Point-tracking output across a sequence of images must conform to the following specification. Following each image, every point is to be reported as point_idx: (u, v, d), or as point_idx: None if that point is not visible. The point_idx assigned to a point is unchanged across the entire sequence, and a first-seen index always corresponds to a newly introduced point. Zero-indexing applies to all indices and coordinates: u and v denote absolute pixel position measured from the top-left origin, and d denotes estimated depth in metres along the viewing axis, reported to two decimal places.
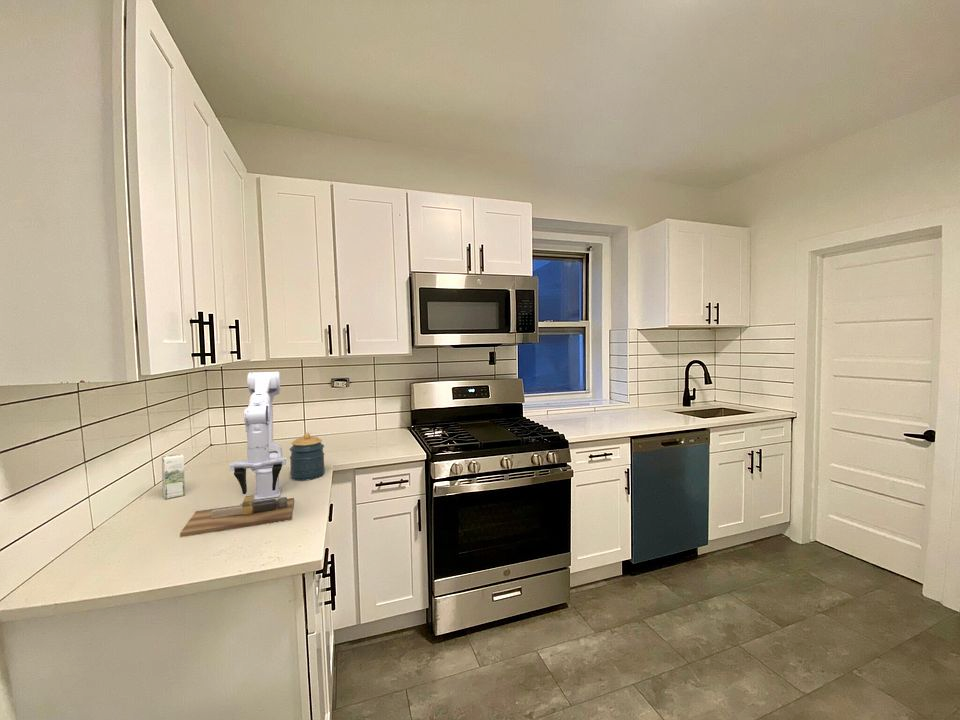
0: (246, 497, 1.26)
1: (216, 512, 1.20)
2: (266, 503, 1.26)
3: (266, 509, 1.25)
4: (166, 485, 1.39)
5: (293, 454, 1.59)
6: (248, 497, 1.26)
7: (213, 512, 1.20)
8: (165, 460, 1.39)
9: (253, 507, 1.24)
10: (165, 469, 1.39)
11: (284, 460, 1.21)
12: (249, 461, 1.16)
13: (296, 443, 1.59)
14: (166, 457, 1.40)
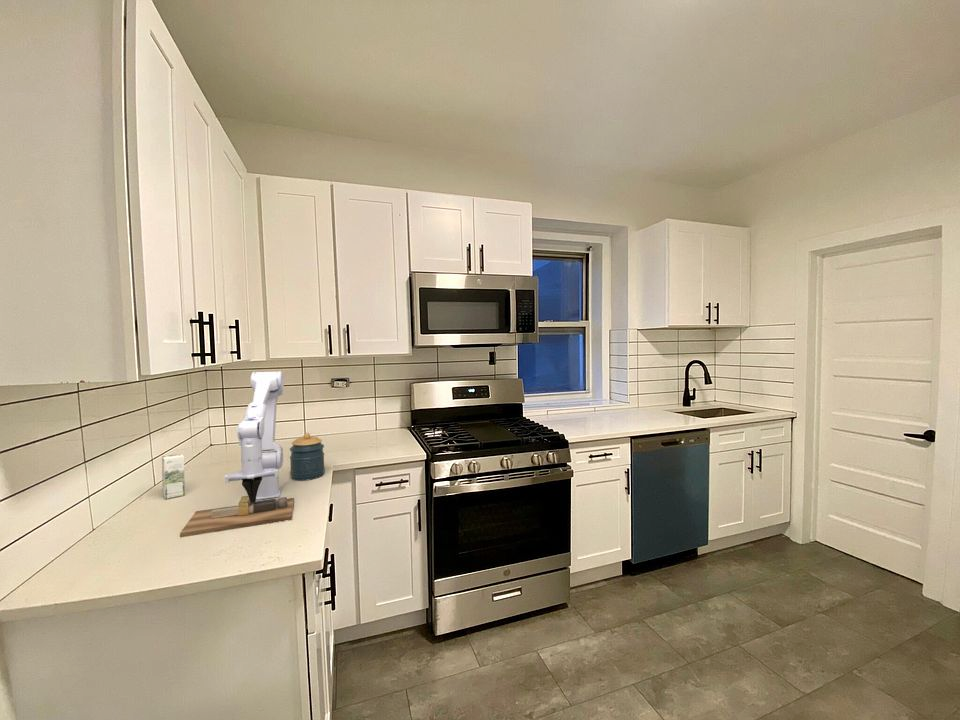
0: (242, 497, 1.26)
1: (216, 512, 1.20)
2: (266, 503, 1.26)
3: (266, 509, 1.25)
4: (166, 485, 1.39)
5: (293, 454, 1.59)
6: (244, 497, 1.26)
7: (213, 512, 1.20)
8: (165, 460, 1.39)
9: (253, 507, 1.24)
10: (166, 469, 1.39)
11: (276, 472, 1.27)
12: (243, 473, 1.23)
13: (296, 443, 1.59)
14: (166, 457, 1.40)
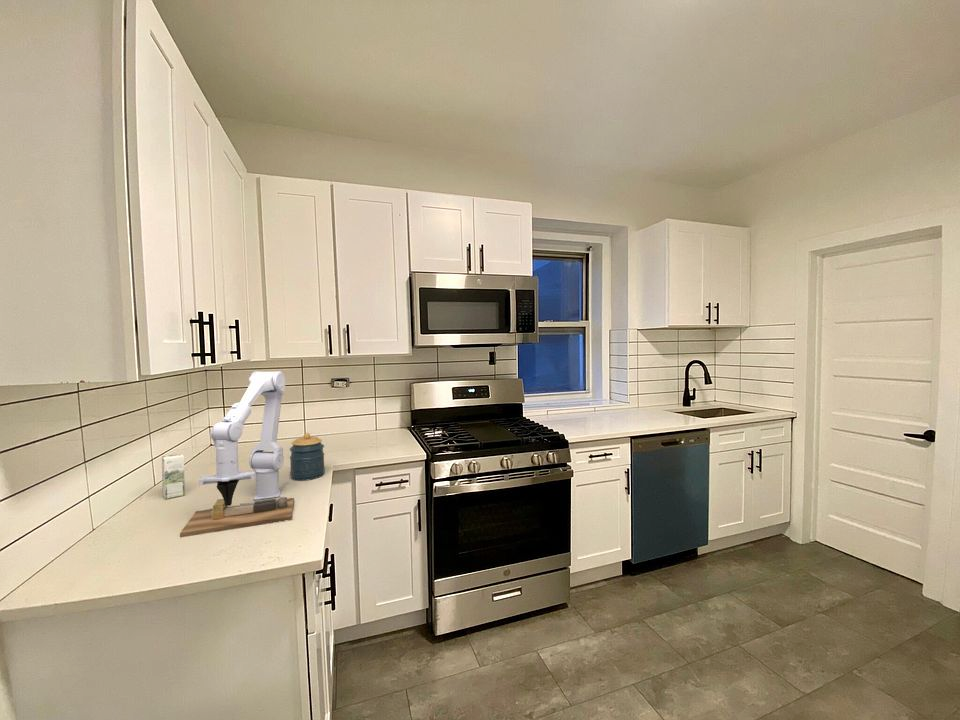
0: (218, 501, 1.23)
1: None
2: (266, 503, 1.26)
3: (266, 509, 1.25)
4: (166, 485, 1.39)
5: (293, 454, 1.59)
6: (220, 501, 1.23)
7: None
8: (165, 460, 1.39)
9: (253, 507, 1.24)
10: (166, 469, 1.39)
11: (253, 474, 1.25)
12: (218, 476, 1.20)
13: (296, 443, 1.59)
14: (166, 457, 1.40)
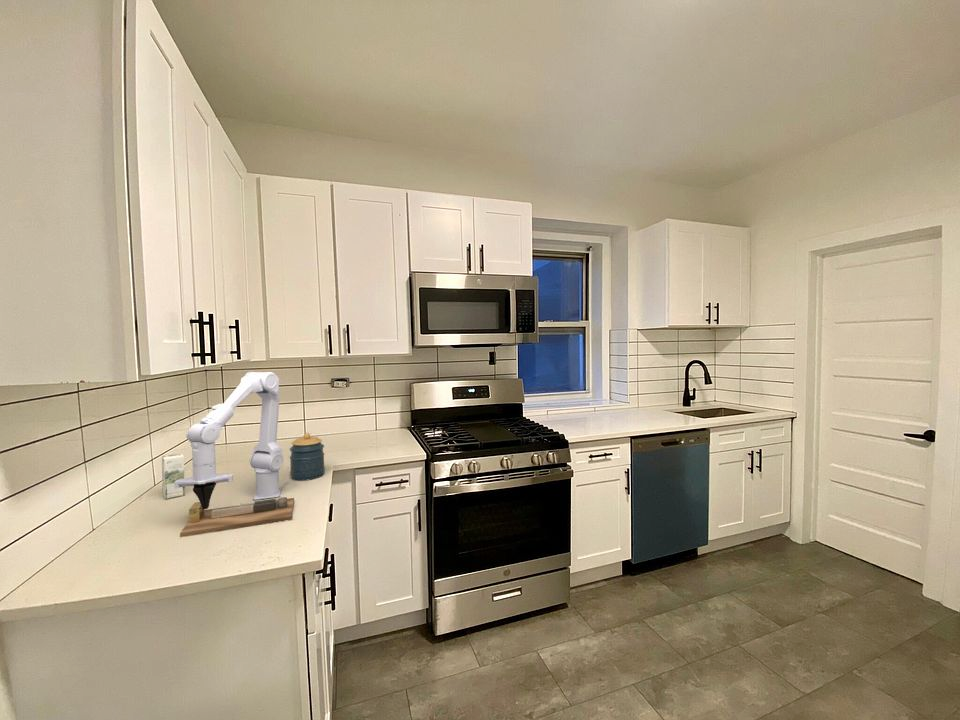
0: (195, 504, 1.21)
1: (216, 512, 1.20)
2: (266, 503, 1.26)
3: (266, 509, 1.25)
4: (166, 485, 1.39)
5: (293, 454, 1.59)
6: (197, 504, 1.21)
7: (213, 512, 1.20)
8: (165, 460, 1.39)
9: (253, 507, 1.24)
10: (166, 469, 1.39)
11: (230, 477, 1.22)
12: (194, 478, 1.18)
13: (296, 443, 1.59)
14: (166, 457, 1.40)
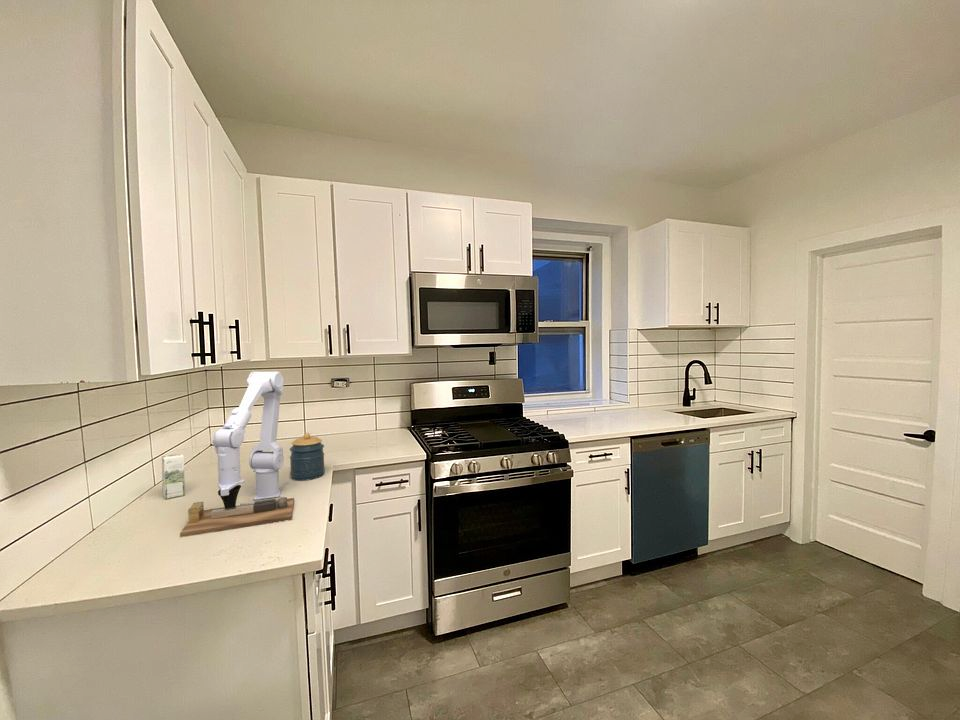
0: (194, 504, 1.21)
1: (216, 512, 1.20)
2: (266, 503, 1.26)
3: (266, 509, 1.25)
4: (166, 485, 1.39)
5: (293, 454, 1.59)
6: (196, 504, 1.21)
7: (213, 512, 1.20)
8: (165, 460, 1.39)
9: (253, 507, 1.24)
10: (165, 469, 1.39)
11: None
12: (235, 481, 1.22)
13: (296, 443, 1.59)
14: (166, 457, 1.40)
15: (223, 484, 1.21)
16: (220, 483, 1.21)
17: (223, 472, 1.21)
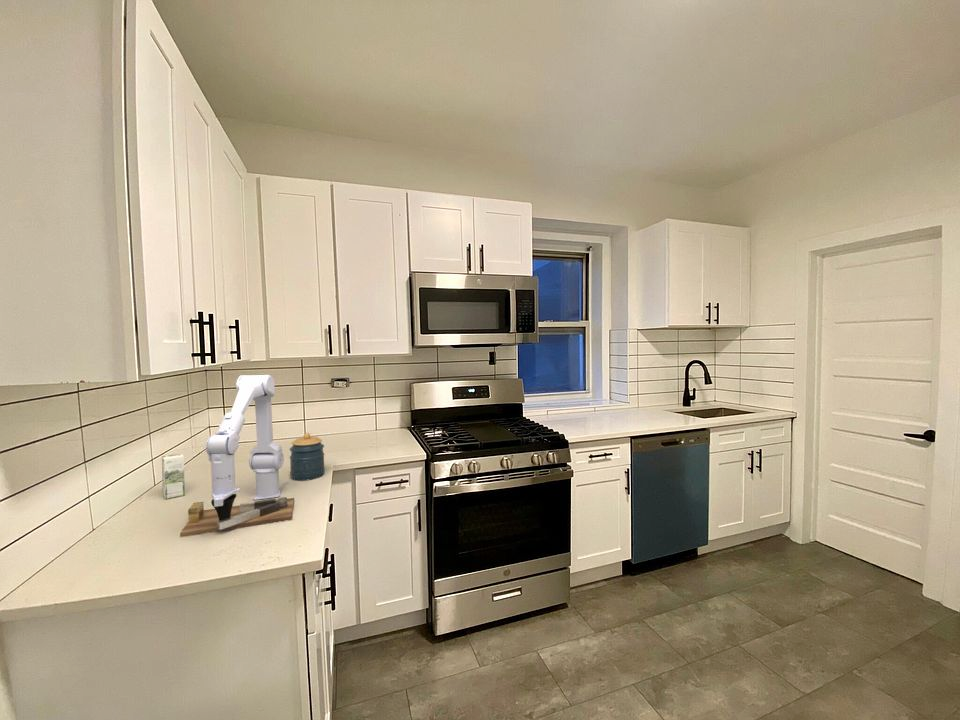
0: (194, 504, 1.21)
1: (224, 522, 1.13)
2: (270, 505, 1.25)
3: (272, 511, 1.24)
4: (166, 485, 1.39)
5: (293, 454, 1.59)
6: (196, 504, 1.21)
7: (221, 523, 1.13)
8: (165, 460, 1.39)
9: (260, 511, 1.21)
10: (165, 469, 1.39)
11: None
12: (229, 490, 1.15)
13: (296, 443, 1.59)
14: (166, 457, 1.40)
15: (217, 494, 1.13)
16: (214, 492, 1.13)
17: (217, 481, 1.13)
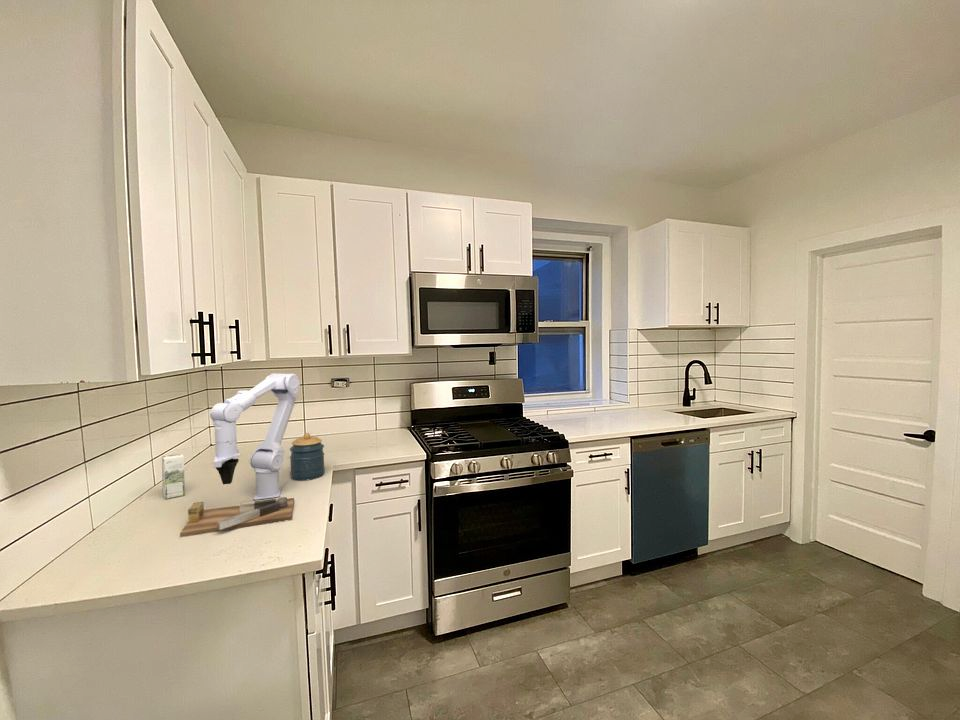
0: (194, 504, 1.21)
1: (224, 522, 1.13)
2: (270, 505, 1.25)
3: (272, 511, 1.24)
4: (166, 485, 1.39)
5: (293, 454, 1.59)
6: (196, 504, 1.21)
7: (221, 523, 1.13)
8: (165, 460, 1.39)
9: (260, 511, 1.21)
10: (165, 469, 1.39)
11: None
12: (230, 454, 1.25)
13: (296, 443, 1.59)
14: (166, 457, 1.40)
15: (219, 456, 1.24)
16: (216, 455, 1.25)
17: (219, 445, 1.24)
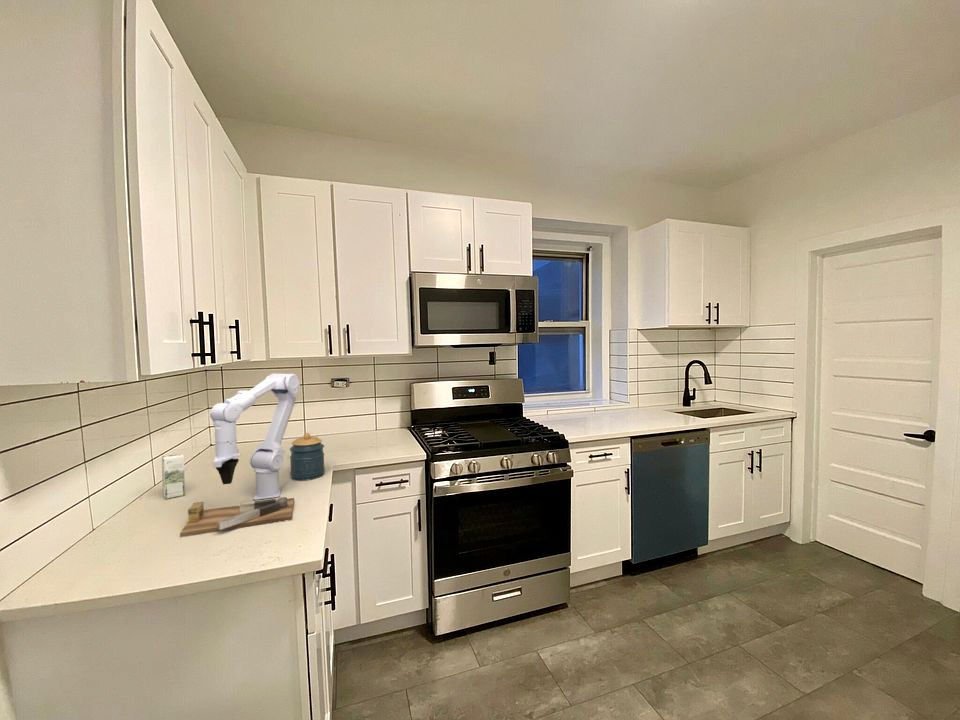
0: (194, 504, 1.21)
1: (224, 522, 1.13)
2: (270, 505, 1.25)
3: (272, 511, 1.24)
4: (166, 485, 1.39)
5: (293, 454, 1.59)
6: (196, 504, 1.21)
7: (221, 523, 1.13)
8: (165, 460, 1.39)
9: (260, 511, 1.21)
10: (166, 469, 1.39)
11: None
12: (230, 454, 1.25)
13: (296, 443, 1.59)
14: (166, 457, 1.40)
15: (219, 456, 1.24)
16: (216, 455, 1.25)
17: (218, 445, 1.24)
